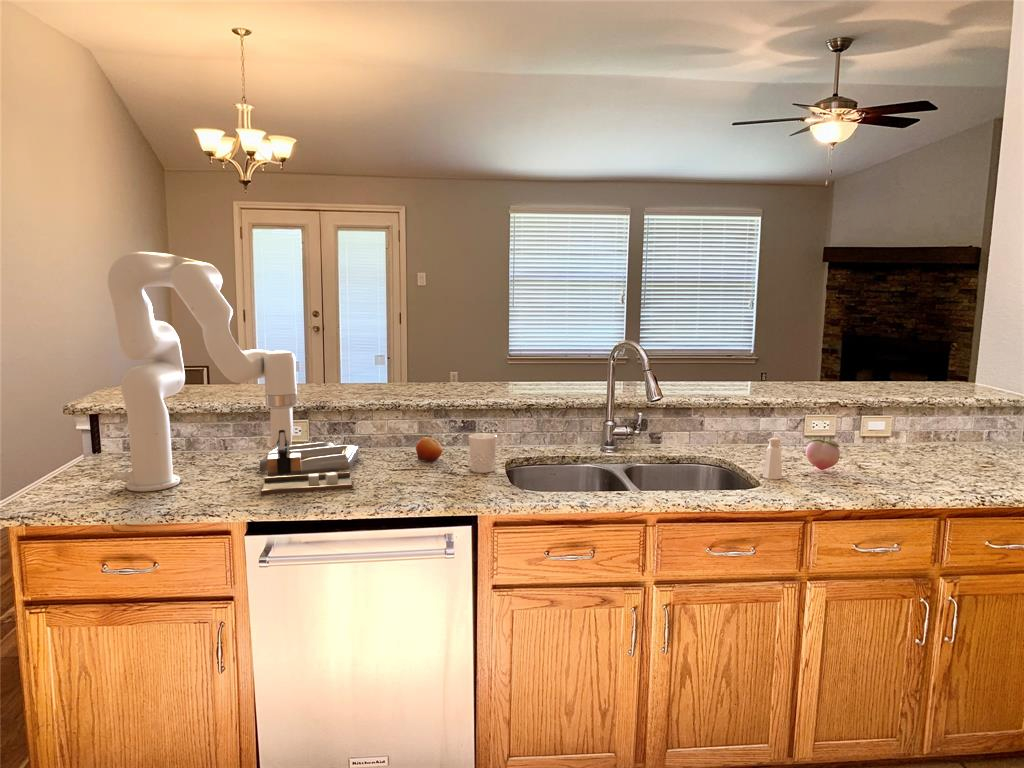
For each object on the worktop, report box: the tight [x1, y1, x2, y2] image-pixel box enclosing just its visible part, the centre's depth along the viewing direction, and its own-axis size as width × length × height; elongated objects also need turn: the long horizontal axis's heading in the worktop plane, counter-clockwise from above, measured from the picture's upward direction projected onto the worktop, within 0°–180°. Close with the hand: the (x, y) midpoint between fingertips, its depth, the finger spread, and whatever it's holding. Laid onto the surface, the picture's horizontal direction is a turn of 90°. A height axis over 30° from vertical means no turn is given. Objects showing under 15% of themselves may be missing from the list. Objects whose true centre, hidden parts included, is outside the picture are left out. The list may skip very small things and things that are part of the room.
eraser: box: [267, 453, 301, 477], centre depth 179 cm, size 8×4×4 cm, turn 106°
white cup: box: [468, 432, 497, 474], centre depth 200 cm, size 8×8×10 cm
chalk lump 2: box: [324, 471, 338, 485], centre depth 183 cm, size 2×2×2 cm
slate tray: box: [260, 471, 353, 496], centre depth 181 cm, size 22×12×2 cm, turn 106°
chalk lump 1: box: [309, 473, 320, 486], centre depth 181 cm, size 2×2×2 cm
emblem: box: [259, 441, 360, 476], centre depth 202 cm, size 28×5×28 cm
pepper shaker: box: [762, 437, 783, 480], centre depth 196 cm, size 5×5×11 cm
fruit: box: [415, 436, 443, 463], centre depth 210 cm, size 8×8×8 cm
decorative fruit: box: [805, 436, 841, 471], centre depth 204 cm, size 9×8×10 cm
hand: (284, 469), depth 179 cm, fingers closed on eraser, 4 cm apart
